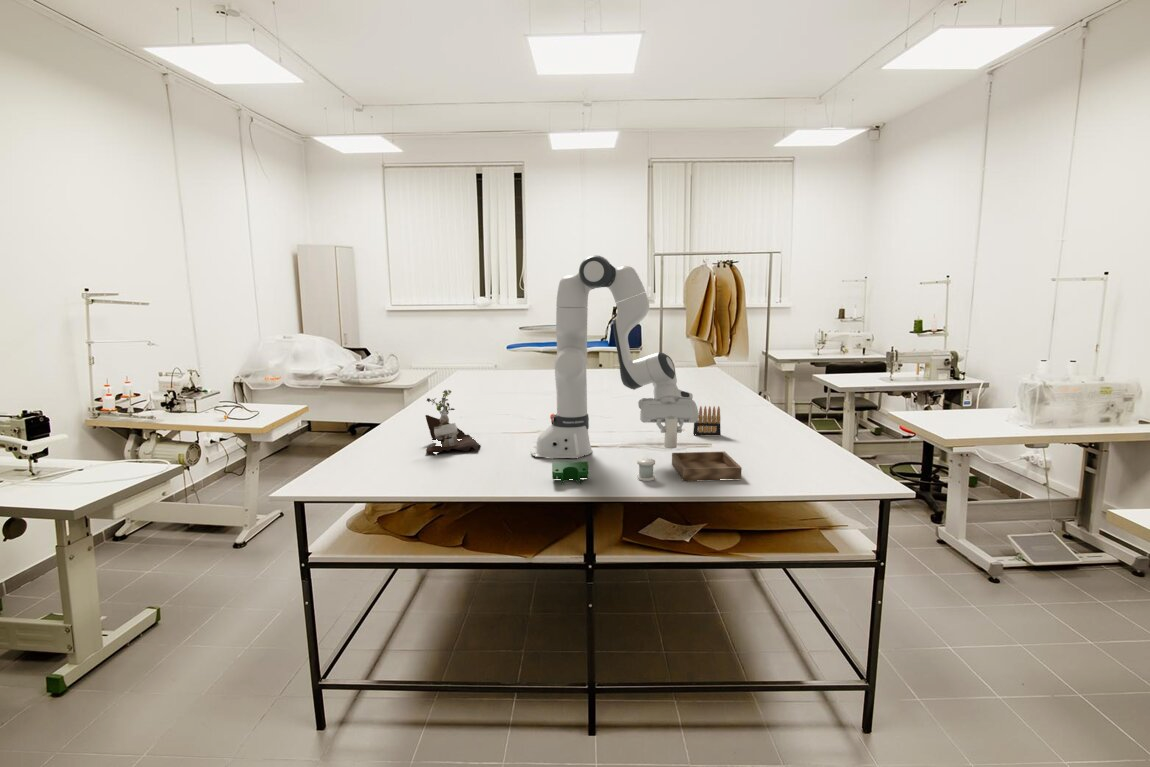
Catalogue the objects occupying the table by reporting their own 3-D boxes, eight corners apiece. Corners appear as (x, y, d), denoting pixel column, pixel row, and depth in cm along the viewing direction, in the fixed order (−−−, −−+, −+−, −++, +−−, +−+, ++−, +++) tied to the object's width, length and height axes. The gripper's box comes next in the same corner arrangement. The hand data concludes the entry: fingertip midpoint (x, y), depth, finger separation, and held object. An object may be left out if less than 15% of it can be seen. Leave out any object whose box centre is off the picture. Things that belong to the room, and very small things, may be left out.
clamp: (559, 497, 182) (546, 474, 179) (558, 486, 188) (547, 464, 184) (594, 483, 181) (583, 460, 177) (593, 473, 186) (582, 450, 183)
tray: (683, 481, 182) (683, 469, 181) (671, 464, 200) (671, 452, 199) (741, 479, 183) (741, 467, 182) (724, 462, 200) (724, 451, 200)
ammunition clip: (720, 434, 238) (720, 405, 236) (720, 435, 236) (721, 406, 234) (693, 434, 240) (693, 405, 238) (693, 435, 238) (694, 406, 236)
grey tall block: (665, 448, 201) (666, 418, 199) (663, 445, 205) (664, 415, 203) (677, 448, 201) (679, 418, 199) (675, 445, 205) (676, 415, 203)
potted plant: (428, 463, 214) (413, 396, 215) (432, 461, 232) (419, 399, 234) (482, 450, 217) (467, 384, 219) (482, 449, 236) (468, 388, 237)
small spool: (638, 481, 183) (638, 463, 182) (636, 476, 188) (636, 458, 187) (656, 481, 183) (656, 463, 182) (653, 475, 188) (653, 458, 187)
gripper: (638, 393, 206) (642, 427, 198) (696, 393, 207) (702, 427, 199) (636, 403, 212) (640, 436, 203) (693, 403, 212) (698, 436, 204)
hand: (671, 431), depth 201 cm, fingers closed on grey tall block, 4 cm apart
